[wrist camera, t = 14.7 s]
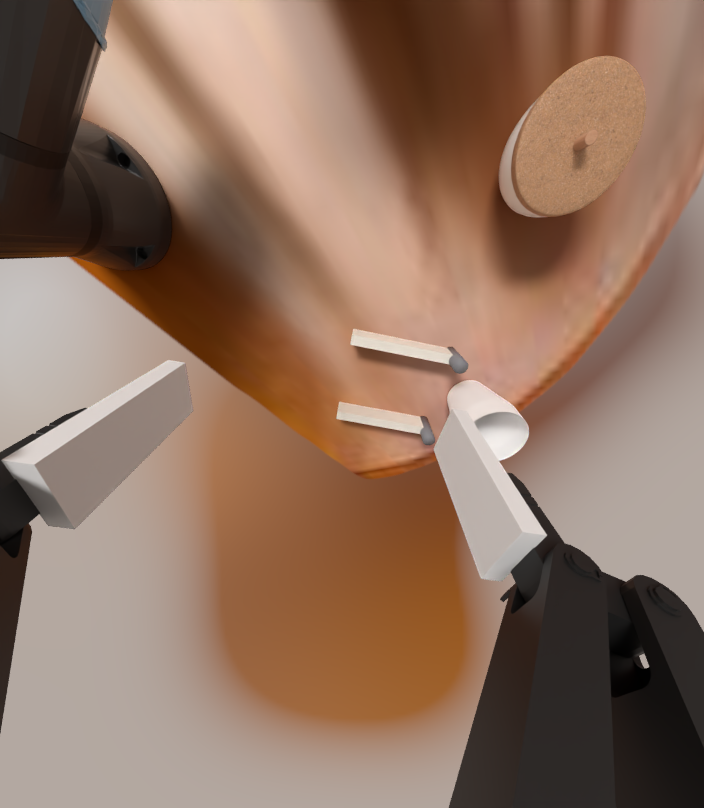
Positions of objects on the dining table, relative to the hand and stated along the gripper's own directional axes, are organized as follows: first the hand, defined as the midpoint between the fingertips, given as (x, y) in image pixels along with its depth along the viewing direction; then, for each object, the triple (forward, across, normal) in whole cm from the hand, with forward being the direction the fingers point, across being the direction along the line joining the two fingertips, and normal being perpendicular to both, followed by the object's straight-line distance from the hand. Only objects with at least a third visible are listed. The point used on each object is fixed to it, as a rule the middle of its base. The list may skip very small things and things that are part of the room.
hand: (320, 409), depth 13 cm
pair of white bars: (+30, +10, -11) cm, 33 cm away
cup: (+29, +24, -12) cm, 40 cm away
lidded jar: (+30, +19, +19) cm, 40 cm away
